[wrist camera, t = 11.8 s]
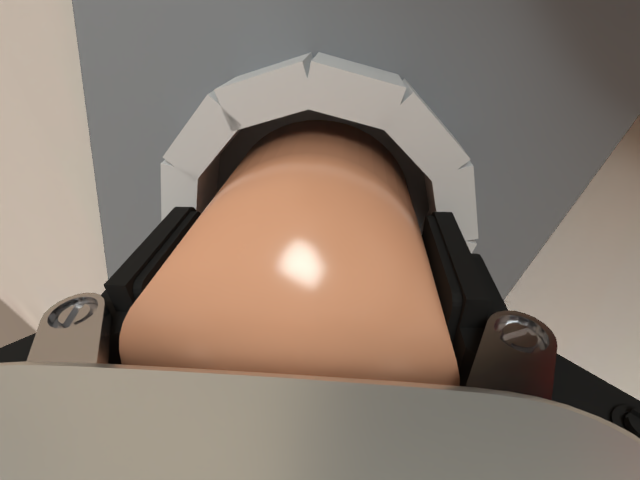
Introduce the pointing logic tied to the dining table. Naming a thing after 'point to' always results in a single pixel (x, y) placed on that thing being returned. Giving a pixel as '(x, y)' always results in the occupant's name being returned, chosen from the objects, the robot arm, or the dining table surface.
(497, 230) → the squash holder
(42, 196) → the dining table surface
